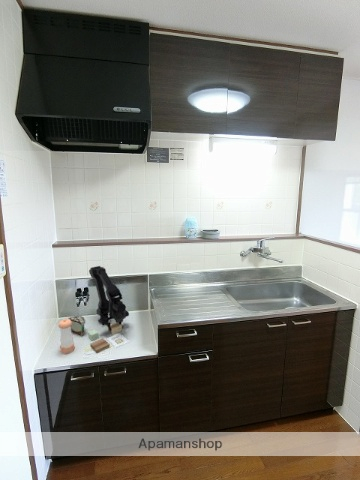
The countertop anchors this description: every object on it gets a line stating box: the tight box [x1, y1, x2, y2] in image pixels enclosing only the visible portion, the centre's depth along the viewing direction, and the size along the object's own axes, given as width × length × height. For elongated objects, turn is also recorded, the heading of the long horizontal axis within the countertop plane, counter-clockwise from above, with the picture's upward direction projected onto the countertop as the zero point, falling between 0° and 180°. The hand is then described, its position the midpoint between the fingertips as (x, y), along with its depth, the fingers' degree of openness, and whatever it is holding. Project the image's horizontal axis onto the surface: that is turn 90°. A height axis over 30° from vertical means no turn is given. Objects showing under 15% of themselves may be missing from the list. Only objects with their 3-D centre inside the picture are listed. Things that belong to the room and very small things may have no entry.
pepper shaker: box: [57, 318, 75, 355], centre depth 142 cm, size 7×7×19 cm
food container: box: [67, 315, 86, 337], centre depth 161 cm, size 12×6×10 cm, turn 65°
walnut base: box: [90, 337, 111, 354], centre depth 147 cm, size 8×8×2 cm
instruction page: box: [106, 332, 130, 349], centre depth 154 cm, size 12×9×1 cm
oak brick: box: [107, 321, 123, 335], centre depth 164 cm, size 6×6×4 cm
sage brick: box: [87, 329, 100, 342], centre depth 155 cm, size 4×4×4 cm
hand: (114, 328), depth 164 cm, fingers closed on oak brick, 6 cm apart
